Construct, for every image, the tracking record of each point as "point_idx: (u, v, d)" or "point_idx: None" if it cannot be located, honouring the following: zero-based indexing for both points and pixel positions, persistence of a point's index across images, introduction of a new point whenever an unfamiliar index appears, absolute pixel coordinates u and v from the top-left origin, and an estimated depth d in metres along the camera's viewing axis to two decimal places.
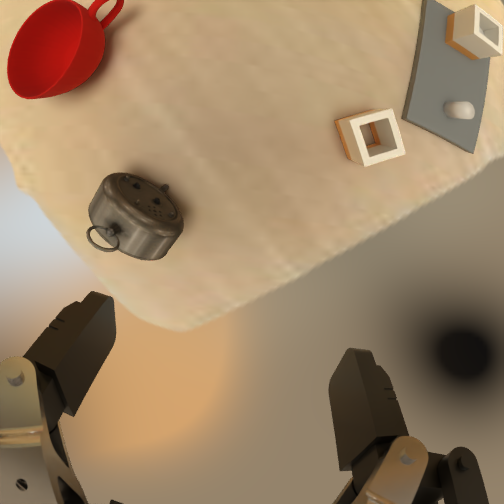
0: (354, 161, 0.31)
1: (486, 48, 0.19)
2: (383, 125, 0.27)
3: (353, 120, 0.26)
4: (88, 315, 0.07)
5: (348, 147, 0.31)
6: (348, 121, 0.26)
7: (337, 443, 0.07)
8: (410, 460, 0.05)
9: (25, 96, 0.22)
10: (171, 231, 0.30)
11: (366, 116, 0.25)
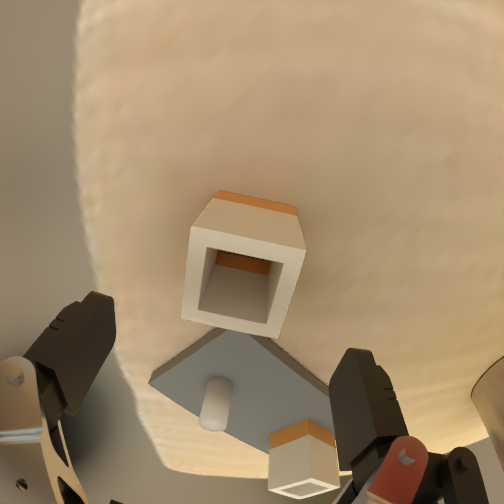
0: (209, 203, 0.16)
1: (283, 475, 0.21)
2: (250, 297, 0.16)
3: (301, 258, 0.13)
4: (88, 315, 0.07)
5: (240, 205, 0.17)
6: (302, 245, 0.13)
7: (337, 443, 0.07)
8: (410, 460, 0.05)
9: None
10: None
11: (292, 287, 0.13)
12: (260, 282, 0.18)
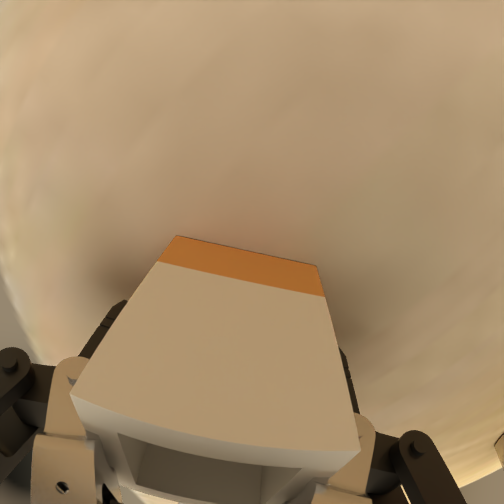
0: (143, 282, 0.07)
1: None
2: None
3: (343, 460, 0.04)
4: None
5: (210, 282, 0.08)
6: (350, 428, 0.04)
7: None
8: None
9: None
10: None
11: None
12: None
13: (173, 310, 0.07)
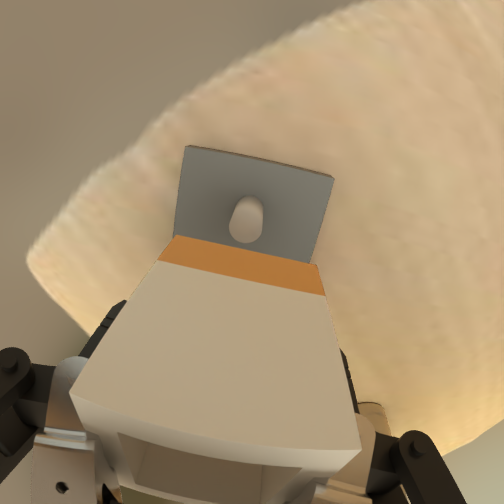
0: (143, 281, 0.07)
1: None
2: None
3: (344, 459, 0.04)
4: None
5: (210, 281, 0.08)
6: (351, 428, 0.04)
7: None
8: None
9: None
10: None
11: None
12: None
13: (173, 309, 0.06)
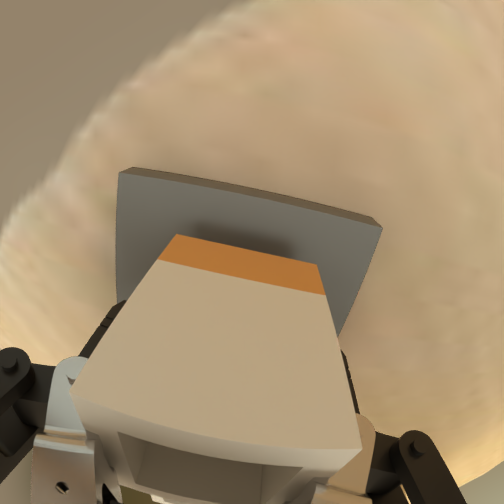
0: (144, 280, 0.07)
1: None
2: None
3: (345, 458, 0.04)
4: None
5: (210, 280, 0.08)
6: (352, 427, 0.04)
7: None
8: None
9: None
10: None
11: None
12: None
13: (173, 308, 0.06)
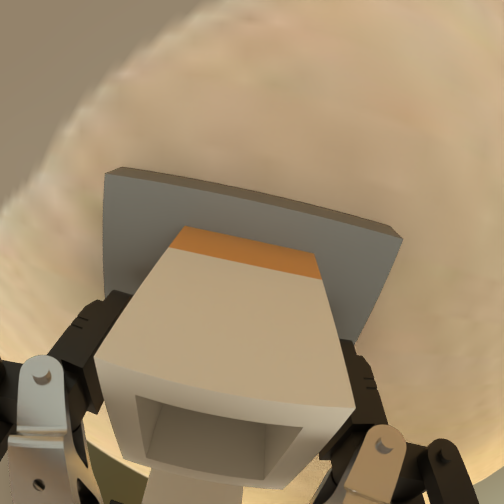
0: (157, 264, 0.08)
1: (181, 494, 0.11)
2: (237, 421, 0.08)
3: (340, 419, 0.05)
4: (112, 313, 0.08)
5: (217, 265, 0.09)
6: (346, 389, 0.05)
7: None
8: (386, 449, 0.05)
9: None
10: None
11: (315, 450, 0.06)
12: None
13: (185, 287, 0.07)
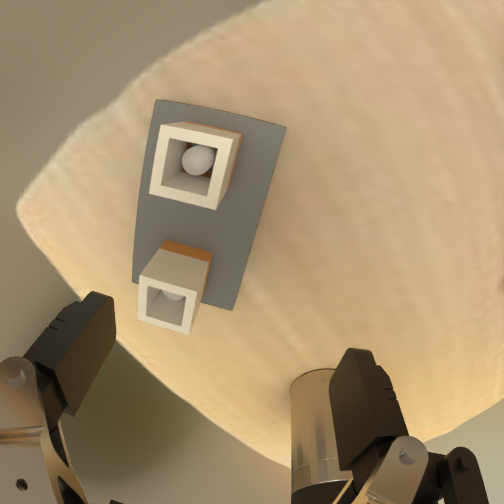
0: (178, 122, 0.21)
1: (165, 273, 0.24)
2: (201, 185, 0.22)
3: (229, 145, 0.18)
4: (88, 315, 0.07)
5: (200, 126, 0.22)
6: (232, 138, 0.18)
7: (337, 443, 0.07)
8: (410, 460, 0.05)
9: None
10: None
11: (224, 166, 0.19)
12: None
13: (187, 125, 0.20)
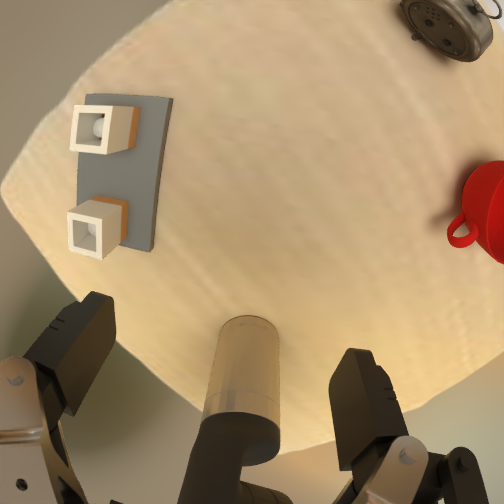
0: None
1: (85, 210, 0.30)
2: None
3: (111, 110, 0.24)
4: (88, 315, 0.07)
5: None
6: (114, 106, 0.24)
7: (337, 443, 0.07)
8: (410, 460, 0.05)
9: None
10: None
11: (109, 124, 0.25)
12: None
13: None
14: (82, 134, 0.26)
